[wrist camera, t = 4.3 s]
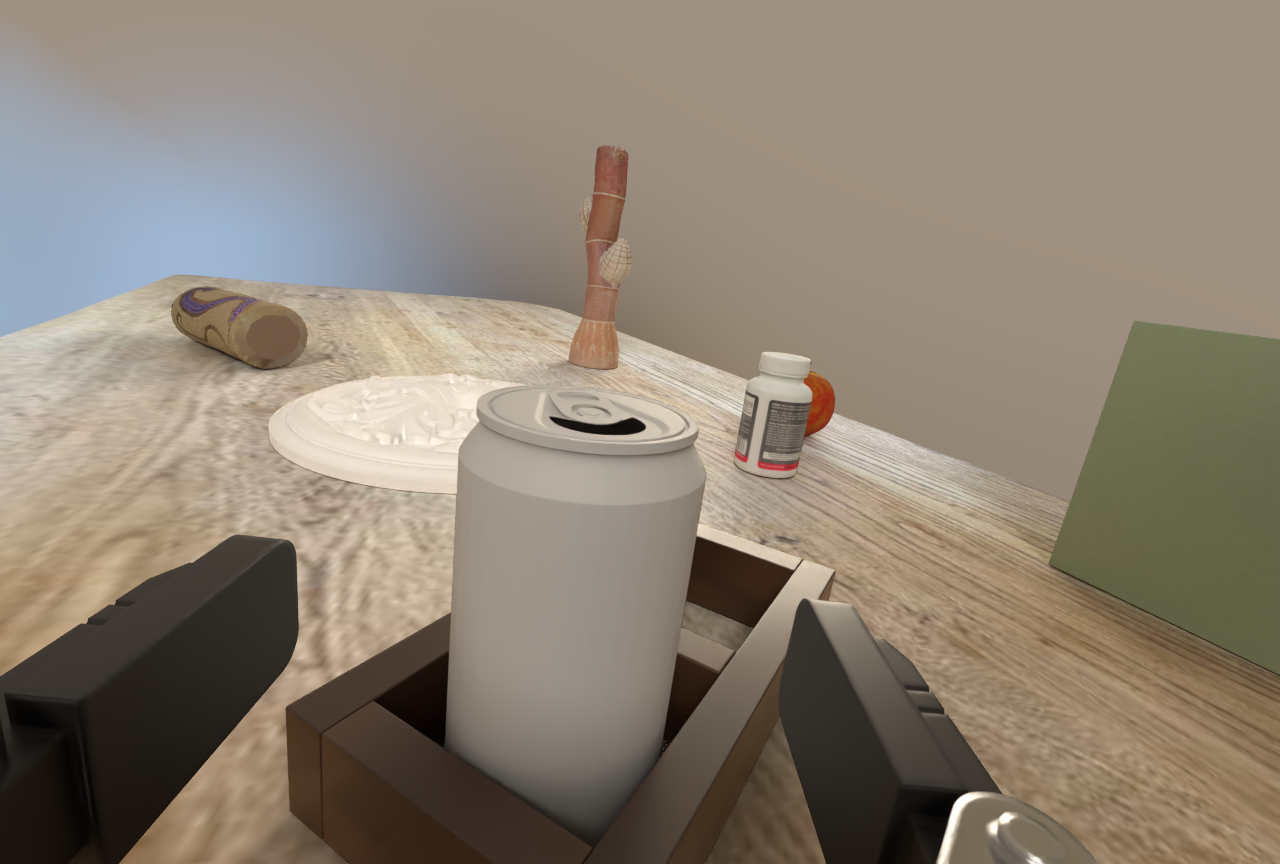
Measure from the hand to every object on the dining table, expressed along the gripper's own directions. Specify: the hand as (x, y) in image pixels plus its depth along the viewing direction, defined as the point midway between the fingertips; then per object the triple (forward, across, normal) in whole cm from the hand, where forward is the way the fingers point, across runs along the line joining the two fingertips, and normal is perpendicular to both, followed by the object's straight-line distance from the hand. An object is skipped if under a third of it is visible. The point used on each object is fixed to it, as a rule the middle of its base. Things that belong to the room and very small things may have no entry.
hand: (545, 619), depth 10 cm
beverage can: (+6, 0, +10) cm, 12 cm away
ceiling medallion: (+41, +12, +10) cm, 44 cm away
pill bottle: (+40, -14, +10) cm, 44 cm away
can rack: (+10, -2, +10) cm, 15 cm away
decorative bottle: (+61, +44, +10) cm, 76 cm away
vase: (+82, +4, +10) cm, 82 cm away
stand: (+24, -38, +10) cm, 46 cm away
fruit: (+53, -20, +10) cm, 57 cm away
